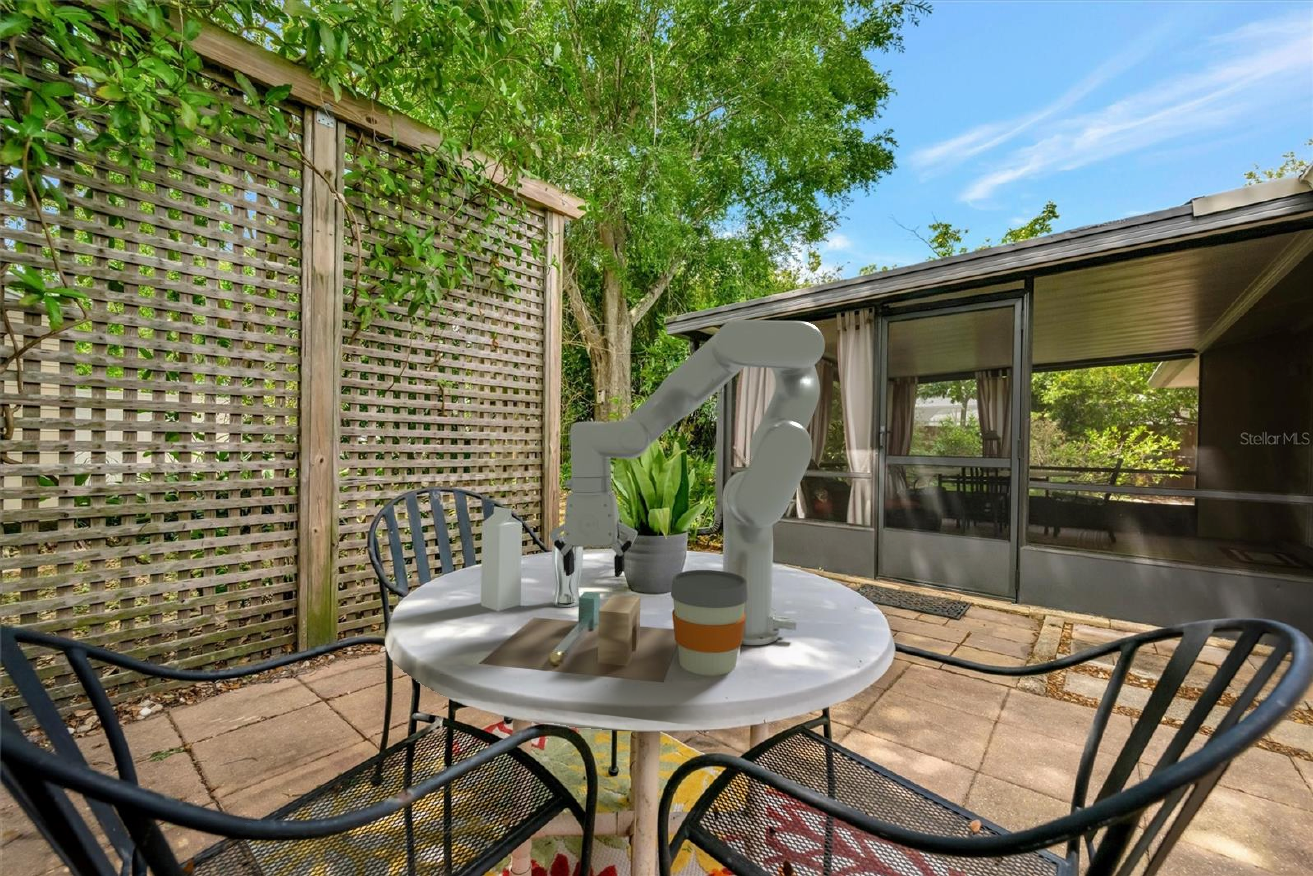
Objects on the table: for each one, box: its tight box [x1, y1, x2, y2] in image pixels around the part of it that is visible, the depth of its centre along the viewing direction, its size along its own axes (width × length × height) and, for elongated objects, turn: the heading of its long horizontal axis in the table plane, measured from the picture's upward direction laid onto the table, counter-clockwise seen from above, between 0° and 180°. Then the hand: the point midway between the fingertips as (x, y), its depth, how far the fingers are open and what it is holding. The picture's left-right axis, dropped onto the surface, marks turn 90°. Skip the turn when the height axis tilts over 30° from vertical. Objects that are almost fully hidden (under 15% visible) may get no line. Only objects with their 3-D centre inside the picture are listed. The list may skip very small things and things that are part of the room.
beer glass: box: [551, 533, 584, 608], centre depth 124 cm, size 7×7×15 cm
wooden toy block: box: [598, 594, 641, 666], centre depth 93 cm, size 5×9×8 cm, turn 170°
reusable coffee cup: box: [670, 569, 748, 676], centre depth 90 cm, size 13×13×15 cm
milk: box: [480, 506, 523, 612], centre depth 118 cm, size 6×6×22 cm
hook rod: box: [549, 591, 601, 665], centre depth 98 cm, size 21×3×6 cm, turn 170°
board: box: [478, 617, 678, 683], centre depth 97 cm, size 30×22×1 cm
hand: (594, 574), depth 106 cm, fingers open, 9 cm apart
